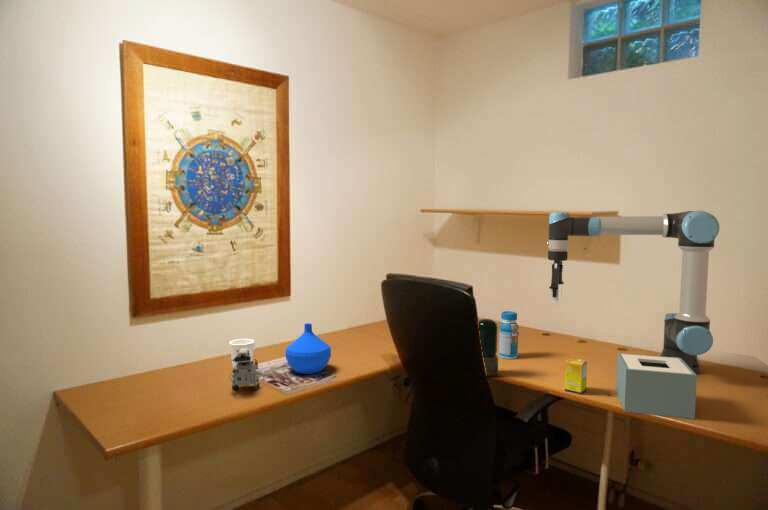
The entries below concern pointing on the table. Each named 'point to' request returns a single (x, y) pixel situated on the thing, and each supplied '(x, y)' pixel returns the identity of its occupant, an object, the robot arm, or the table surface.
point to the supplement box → (575, 375)
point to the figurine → (244, 370)
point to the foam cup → (239, 344)
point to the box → (656, 385)
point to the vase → (308, 353)
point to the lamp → (489, 345)
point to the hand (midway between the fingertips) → (556, 302)
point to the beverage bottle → (508, 335)
